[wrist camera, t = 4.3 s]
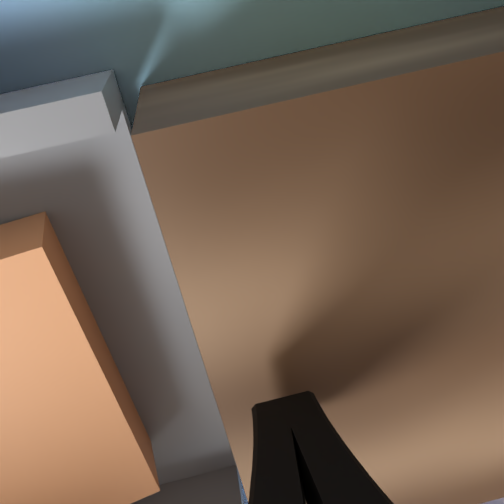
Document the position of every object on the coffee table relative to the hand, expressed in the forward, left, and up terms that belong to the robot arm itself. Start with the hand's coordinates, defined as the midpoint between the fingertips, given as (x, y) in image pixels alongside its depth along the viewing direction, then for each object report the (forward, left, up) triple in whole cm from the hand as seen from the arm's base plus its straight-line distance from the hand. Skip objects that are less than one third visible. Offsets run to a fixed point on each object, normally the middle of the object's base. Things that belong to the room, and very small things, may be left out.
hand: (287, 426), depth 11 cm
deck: (0, -7, -5) cm, 8 cm away
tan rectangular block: (0, +7, -2) cm, 7 cm away
